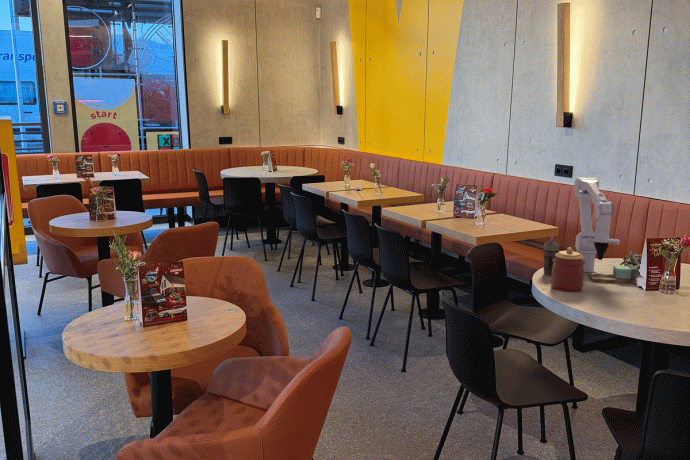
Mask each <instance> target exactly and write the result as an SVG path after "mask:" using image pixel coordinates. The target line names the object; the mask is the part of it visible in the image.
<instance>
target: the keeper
mask: <svg viewBox="0 0 690 460" xmlns="http://www.w3.org/2000/svg"><path fill="white" fill-rule="evenodd" d="M631 272H632V269H631V268H630V267H628V266H624V265H614V264H613V269H612V274H615V277H616V278H621V279H631Z"/></svg>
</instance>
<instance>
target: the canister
mask: <svg viewBox="0 0 690 460" xmlns="http://www.w3.org/2000/svg"><path fill="white" fill-rule="evenodd" d="M555 256H556V258H554V259H553V262H554V265H553V267H552V276H551V281H550V284H551V285H550V286H551V288H552V289H554V290H557V291H559V292H561V291H562V292H569V293H573V292H574V293H575V292H580V291H582V290H583V288H584V280H585V279H584V278H585V272H584V271H585V269H584V264H585V261H584V260H583V258H584V256H583V255H581V254H580V253H578V251H574V249H573V248H572V247H570V246H569V247H567V248H566V250H559V252H558V253H556V254H555Z"/></svg>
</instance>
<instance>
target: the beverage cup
mask: <svg viewBox="0 0 690 460" xmlns="http://www.w3.org/2000/svg"><path fill="white" fill-rule="evenodd" d="M553 236H554V231H551V240H549V241H546V242H545V243H544V244H543V247H542V254H543V274H544V275H545V276H551V277H552V267H553V265H554V262H553V259H554V258H556V256H555V254H556V253H558V252H560V249H559V247H560V246H559V244H558V243H557V242H555V241H553V239H554V237H553Z"/></svg>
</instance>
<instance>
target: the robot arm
mask: <svg viewBox="0 0 690 460" xmlns="http://www.w3.org/2000/svg"><path fill="white" fill-rule="evenodd" d="M599 188H600V181H599V179H598V177H576V178H575V180H574V183H573V190H574V196H575V197H577V199H578V205H579V217H580V227H581V228H580V230H581V232H579V233H577V234H576V236H575V245H574V247H575V250H576V252H578V253H580V254H581V255H583V256H584V258H583V260H584V261H585V264H584V269H585V271H584V273H597V271H596V270H595V263H596V262H595V260H596V255H597V260H598V261H602V260H603V258H604V255H605V253H606V251H607V250H608V248H609V245H620V243H621V240H620V239H616V238H610V231H611V218H612V216H613V215H614V212H615V205H614V202H613V201H609V200H608V199H607V197H606V195H605V194H604V193H603V192H600V189H599ZM591 203H593V205H594V213H595V216H594V217H595V219H596V220H595V231H594V229H593V221H592V220H593V219H592V212H591V211H592V210H591Z"/></svg>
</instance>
